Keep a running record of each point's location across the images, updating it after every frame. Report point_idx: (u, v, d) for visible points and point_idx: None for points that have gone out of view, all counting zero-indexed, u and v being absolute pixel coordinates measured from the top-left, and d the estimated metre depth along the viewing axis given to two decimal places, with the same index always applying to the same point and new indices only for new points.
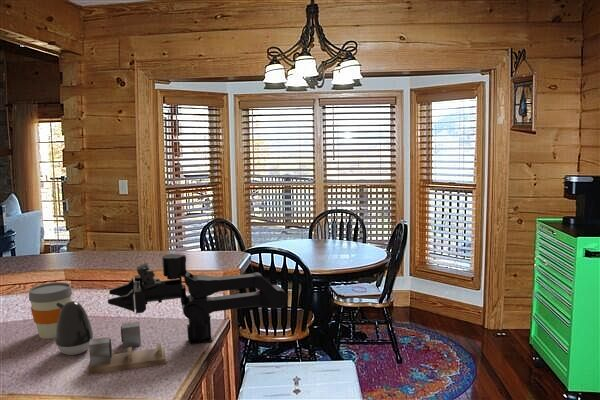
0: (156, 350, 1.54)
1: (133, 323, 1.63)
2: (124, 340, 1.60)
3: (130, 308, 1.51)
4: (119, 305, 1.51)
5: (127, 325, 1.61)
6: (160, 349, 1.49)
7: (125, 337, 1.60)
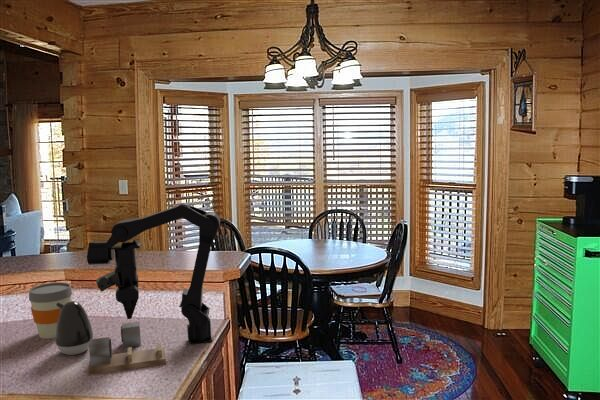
0: (156, 350, 1.54)
1: (133, 323, 1.63)
2: (124, 340, 1.60)
3: (135, 300, 1.55)
4: (132, 309, 1.56)
5: (127, 325, 1.61)
6: (160, 349, 1.49)
7: (125, 337, 1.60)
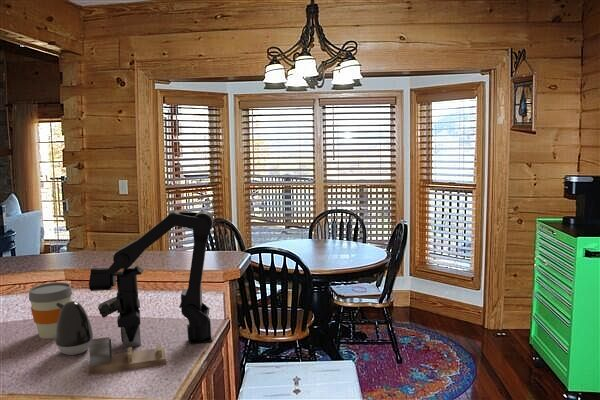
0: (156, 350, 1.54)
1: None
2: (124, 340, 1.60)
3: None
4: (134, 332, 1.59)
5: None
6: (160, 349, 1.49)
7: (125, 337, 1.60)
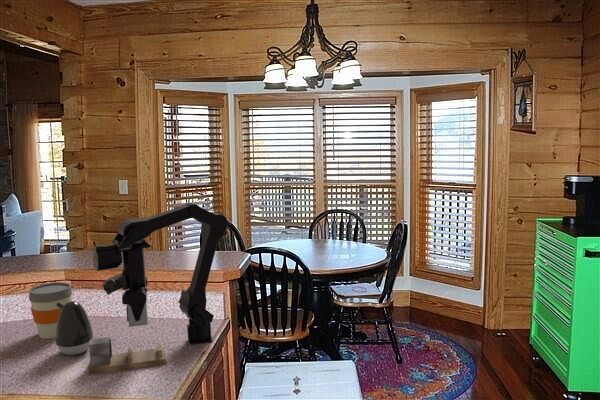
0: (156, 350, 1.54)
1: None
2: (130, 319, 1.51)
3: None
4: (140, 311, 1.50)
5: None
6: (160, 349, 1.49)
7: (130, 316, 1.51)
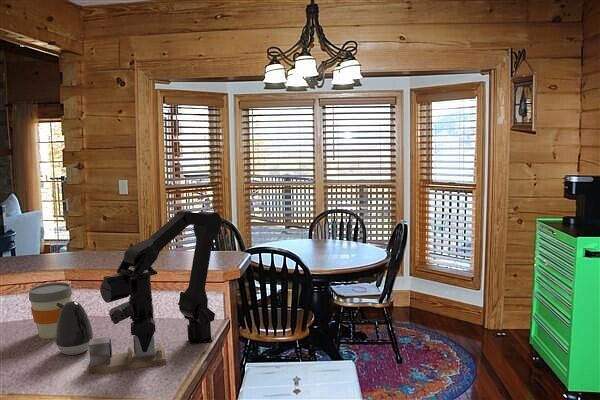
0: (156, 350, 1.54)
1: None
2: (137, 352, 1.48)
3: (151, 332, 1.45)
4: (148, 342, 1.46)
5: None
6: (160, 349, 1.49)
7: (138, 348, 1.48)
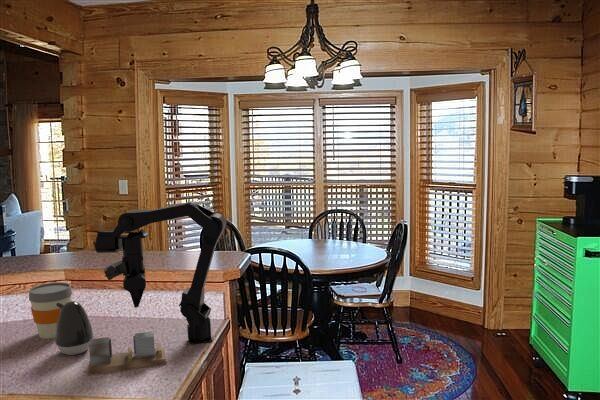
0: (156, 350, 1.54)
1: (147, 333, 1.51)
2: (137, 352, 1.48)
3: (142, 289, 1.57)
4: (139, 298, 1.58)
5: (141, 336, 1.49)
6: (160, 349, 1.49)
7: (138, 348, 1.48)
